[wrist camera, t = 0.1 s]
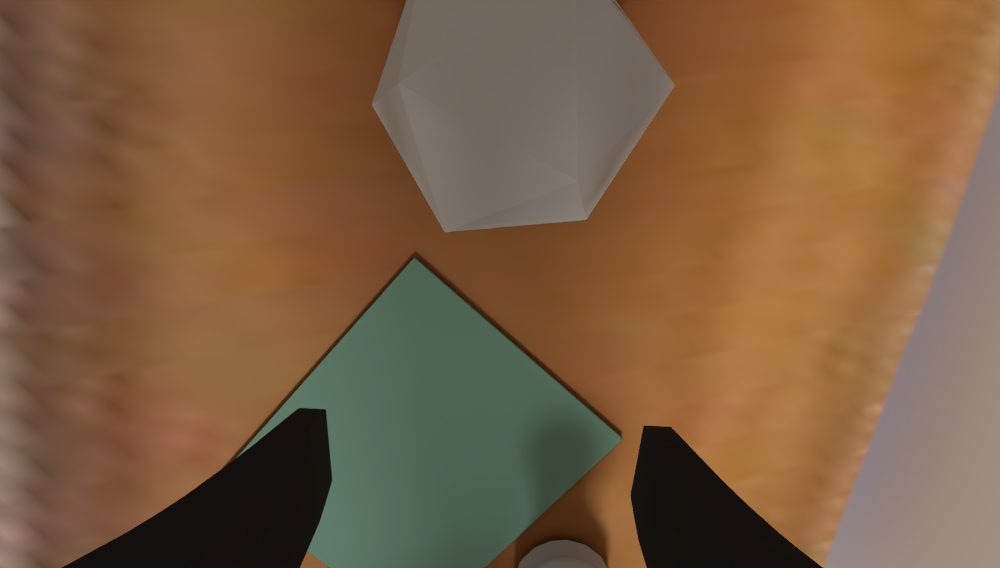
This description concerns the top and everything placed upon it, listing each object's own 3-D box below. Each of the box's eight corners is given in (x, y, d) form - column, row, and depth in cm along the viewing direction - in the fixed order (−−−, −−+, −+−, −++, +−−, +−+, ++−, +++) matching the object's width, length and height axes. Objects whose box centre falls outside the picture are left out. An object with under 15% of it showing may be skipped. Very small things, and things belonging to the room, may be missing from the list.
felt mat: (417, 627, 26) (416, 631, 26) (216, 480, 24) (214, 482, 24) (621, 436, 24) (622, 439, 23) (414, 256, 22) (413, 257, 22)
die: (613, 223, 22) (792, 55, 13) (431, 310, 19) (513, 160, 10) (514, 68, 23) (618, -176, 15) (328, 122, 20) (321, -153, 11)
